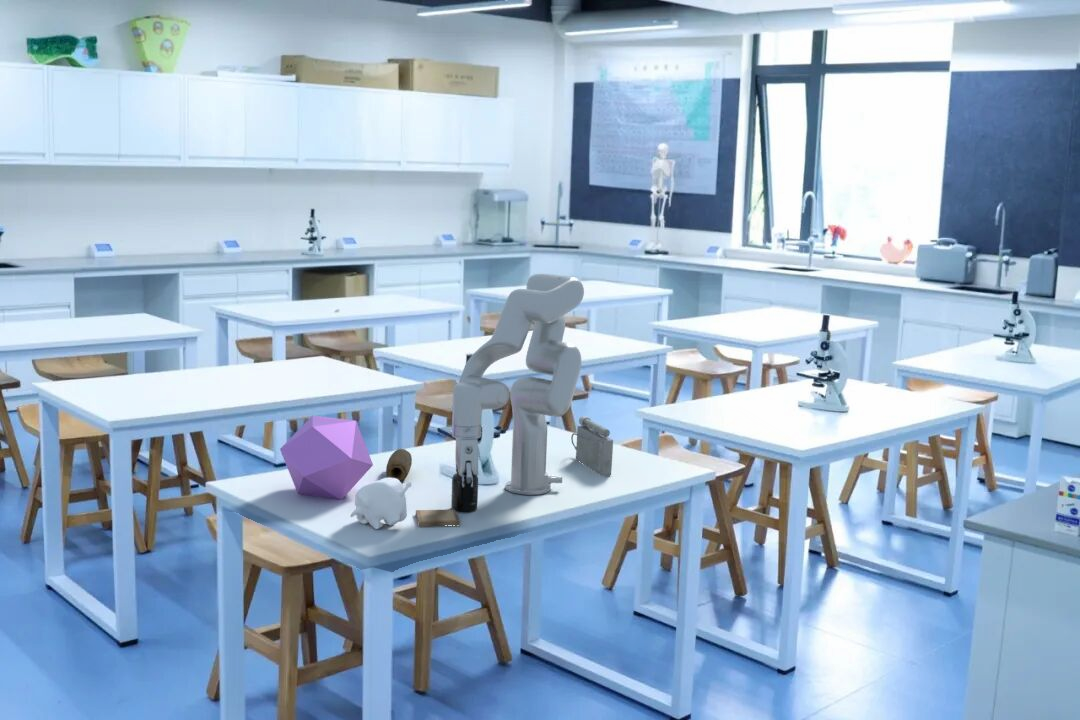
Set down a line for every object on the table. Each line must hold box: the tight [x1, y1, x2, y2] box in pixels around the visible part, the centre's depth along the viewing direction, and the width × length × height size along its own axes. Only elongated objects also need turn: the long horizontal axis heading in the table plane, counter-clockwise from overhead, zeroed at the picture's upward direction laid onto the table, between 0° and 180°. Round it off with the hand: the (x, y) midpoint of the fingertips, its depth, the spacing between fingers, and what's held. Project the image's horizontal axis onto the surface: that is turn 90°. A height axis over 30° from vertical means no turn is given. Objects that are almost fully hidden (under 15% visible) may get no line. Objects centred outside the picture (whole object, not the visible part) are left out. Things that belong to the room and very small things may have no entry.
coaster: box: [415, 508, 461, 528], centre depth 288 cm, size 10×10×1 cm
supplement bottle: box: [450, 464, 479, 513], centre depth 297 cm, size 7×7×12 cm
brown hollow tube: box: [385, 448, 413, 482], centre depth 326 cm, size 15×7×7 cm, turn 5°
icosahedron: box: [279, 415, 374, 501], centre depth 306 cm, size 22×21×25 cm
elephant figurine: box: [349, 477, 412, 530], centre depth 281 cm, size 12×18×12 cm
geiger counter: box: [570, 415, 614, 477], centre depth 345 cm, size 14×6×25 cm
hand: (464, 496), depth 297 cm, fingers closed on supplement bottle, 6 cm apart
